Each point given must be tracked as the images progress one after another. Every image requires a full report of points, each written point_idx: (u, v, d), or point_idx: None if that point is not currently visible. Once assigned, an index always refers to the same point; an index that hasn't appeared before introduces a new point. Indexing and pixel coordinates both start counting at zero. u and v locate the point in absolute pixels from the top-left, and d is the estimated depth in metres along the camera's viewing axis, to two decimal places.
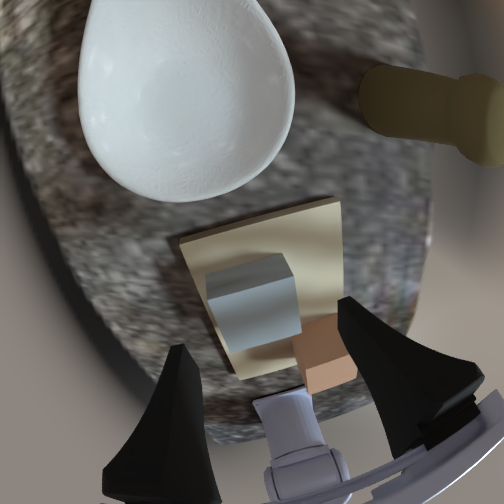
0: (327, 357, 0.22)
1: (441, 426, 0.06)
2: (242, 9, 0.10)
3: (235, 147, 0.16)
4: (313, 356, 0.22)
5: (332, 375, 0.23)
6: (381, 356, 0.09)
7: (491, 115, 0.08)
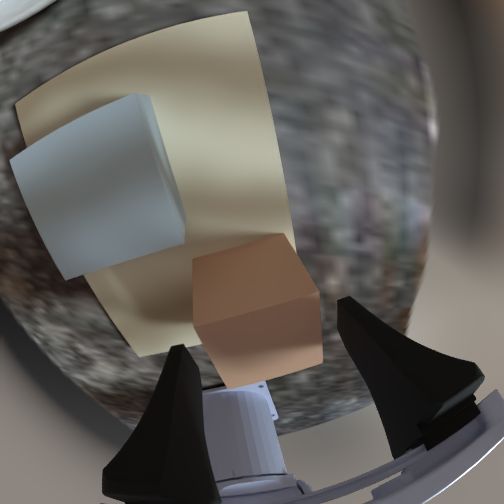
0: (245, 304, 0.11)
1: (441, 426, 0.06)
2: None
3: None
4: (216, 301, 0.11)
5: (265, 352, 0.12)
6: (381, 356, 0.09)
7: None
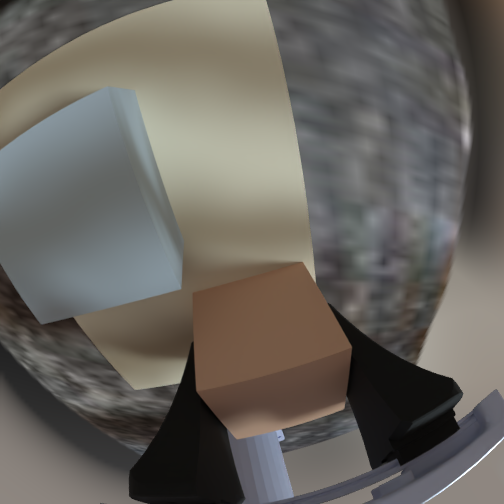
0: (260, 363, 0.08)
1: (416, 441, 0.06)
2: None
3: None
4: (223, 357, 0.09)
5: (282, 408, 0.09)
6: (355, 367, 0.08)
7: None
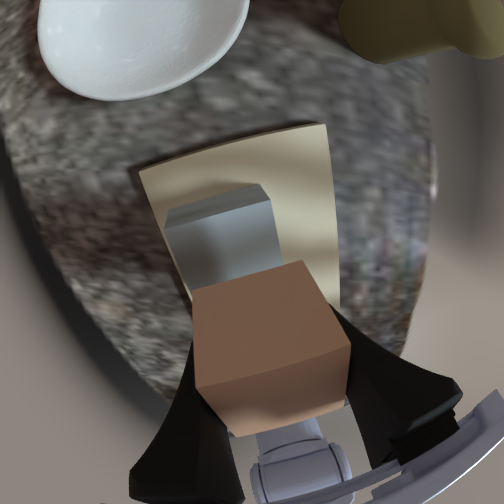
0: (260, 359, 0.08)
1: (416, 441, 0.06)
2: None
3: (188, 47, 0.12)
4: (222, 354, 0.09)
5: (281, 405, 0.09)
6: (355, 367, 0.08)
7: None
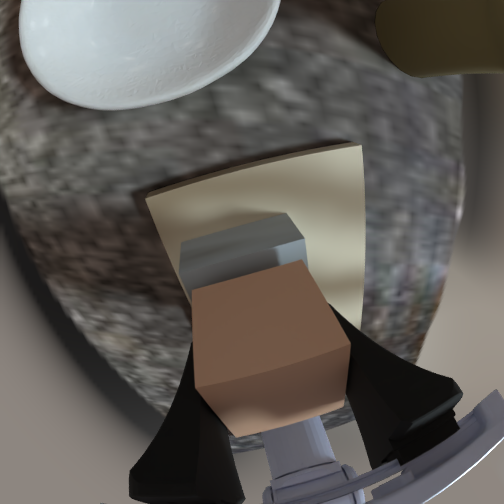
0: (259, 359, 0.08)
1: (416, 441, 0.06)
2: None
3: (204, 44, 0.10)
4: (222, 354, 0.09)
5: (281, 405, 0.09)
6: (355, 367, 0.08)
7: None
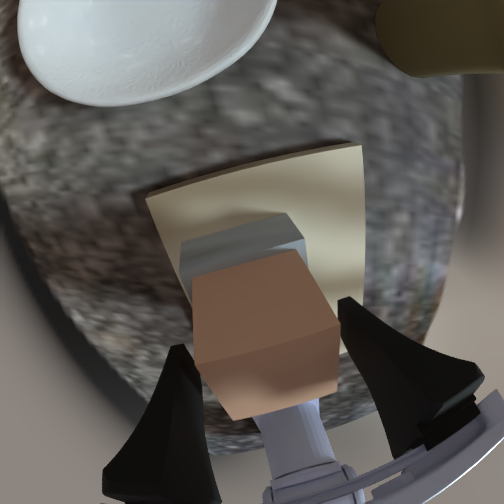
0: (255, 338, 0.09)
1: (441, 426, 0.06)
2: None
3: (203, 40, 0.09)
4: (220, 334, 0.10)
5: (276, 386, 0.10)
6: (381, 356, 0.09)
7: None
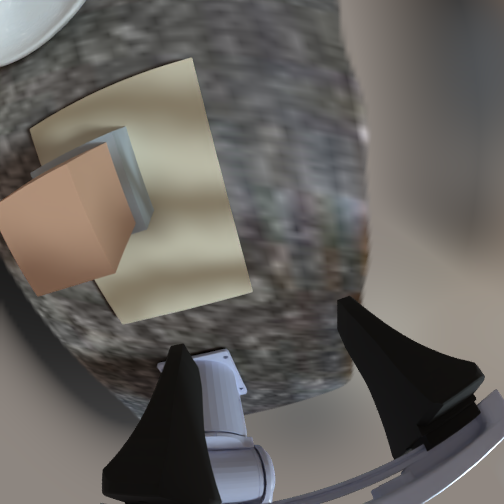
0: (23, 186, 0.08)
1: (441, 426, 0.06)
2: None
3: (62, 12, 0.09)
4: (14, 191, 0.09)
5: (45, 244, 0.09)
6: (381, 356, 0.09)
7: None
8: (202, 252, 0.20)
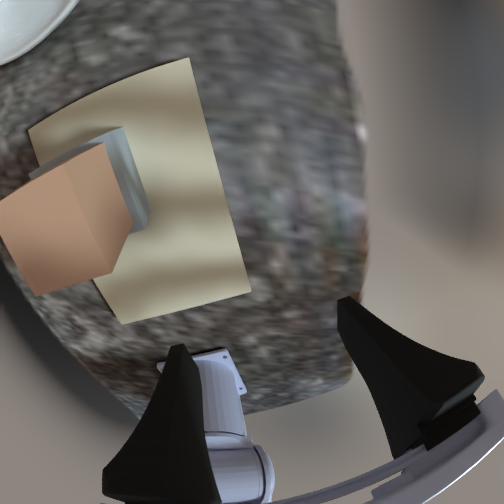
0: (21, 187, 0.08)
1: (441, 426, 0.06)
2: None
3: (56, 12, 0.09)
4: (12, 192, 0.09)
5: (43, 244, 0.09)
6: (381, 356, 0.09)
7: None
8: (200, 252, 0.20)
